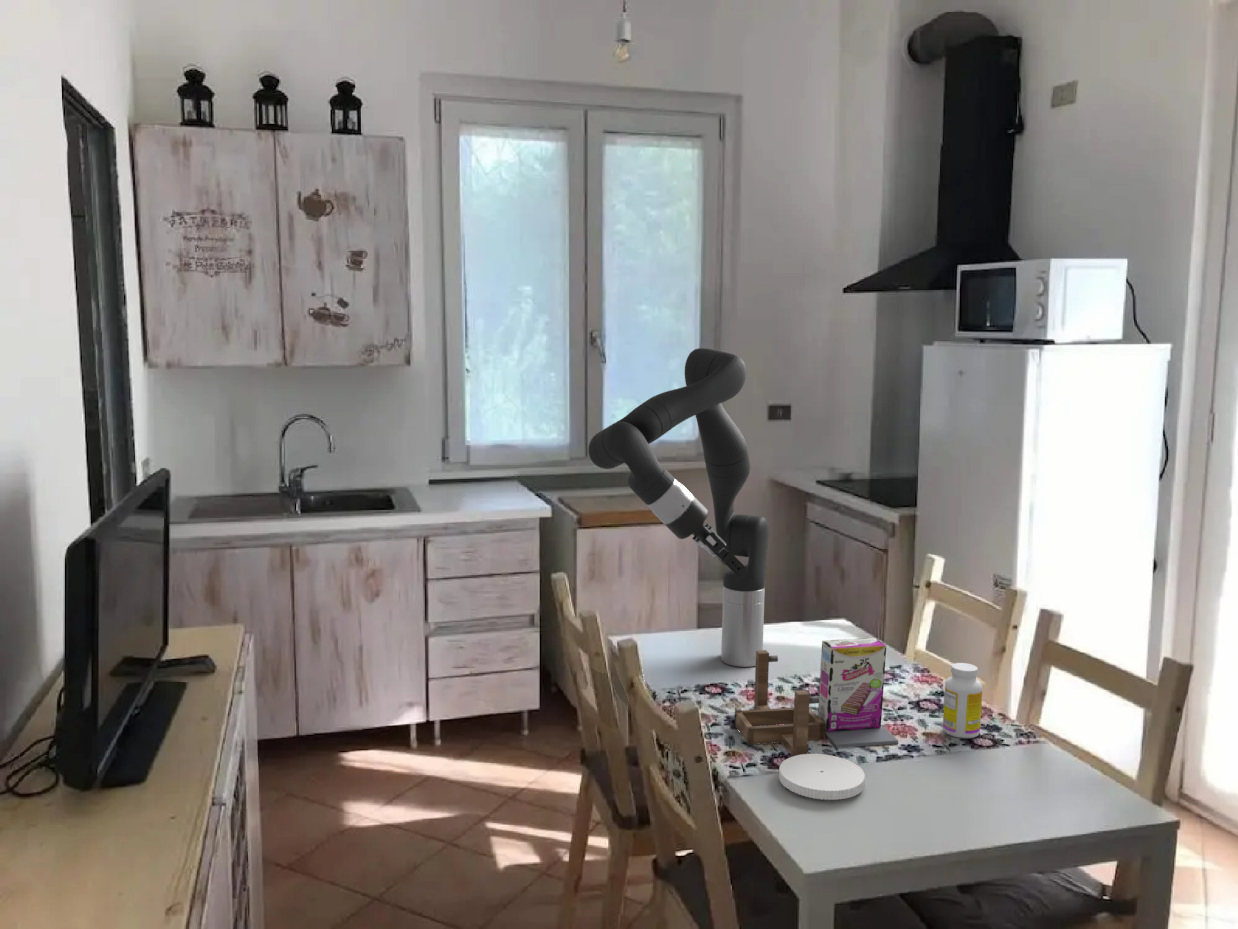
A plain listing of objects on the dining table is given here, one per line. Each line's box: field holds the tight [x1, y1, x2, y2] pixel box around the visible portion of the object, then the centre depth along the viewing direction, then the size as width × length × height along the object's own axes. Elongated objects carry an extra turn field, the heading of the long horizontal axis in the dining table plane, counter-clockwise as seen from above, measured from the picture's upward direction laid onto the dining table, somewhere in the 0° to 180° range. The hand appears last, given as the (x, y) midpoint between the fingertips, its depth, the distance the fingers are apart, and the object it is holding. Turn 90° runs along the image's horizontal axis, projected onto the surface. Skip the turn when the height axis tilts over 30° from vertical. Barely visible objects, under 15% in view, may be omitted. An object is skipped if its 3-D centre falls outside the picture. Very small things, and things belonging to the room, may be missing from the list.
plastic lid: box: [778, 753, 866, 801], centre depth 173 cm, size 14×14×2 cm
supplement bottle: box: [942, 662, 983, 739], centre depth 194 cm, size 7×7×13 cm
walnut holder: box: [734, 649, 826, 757], centre depth 193 cm, size 24×15×12 cm, turn 10°
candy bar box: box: [817, 637, 887, 732], centre depth 195 cm, size 11×5×16 cm, turn 103°
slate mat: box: [812, 709, 899, 749], centre depth 196 cm, size 16×12×1 cm
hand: (735, 566), depth 194 cm, fingers open, 8 cm apart
